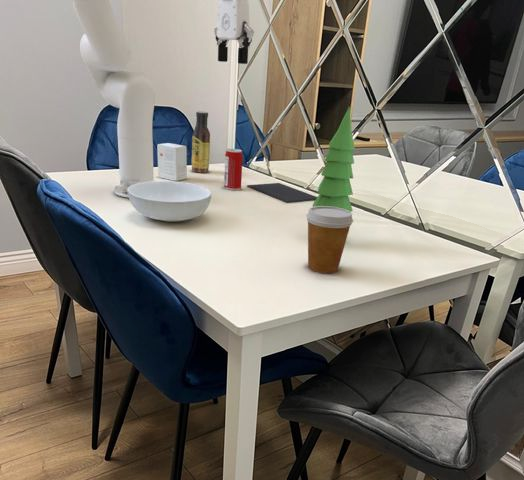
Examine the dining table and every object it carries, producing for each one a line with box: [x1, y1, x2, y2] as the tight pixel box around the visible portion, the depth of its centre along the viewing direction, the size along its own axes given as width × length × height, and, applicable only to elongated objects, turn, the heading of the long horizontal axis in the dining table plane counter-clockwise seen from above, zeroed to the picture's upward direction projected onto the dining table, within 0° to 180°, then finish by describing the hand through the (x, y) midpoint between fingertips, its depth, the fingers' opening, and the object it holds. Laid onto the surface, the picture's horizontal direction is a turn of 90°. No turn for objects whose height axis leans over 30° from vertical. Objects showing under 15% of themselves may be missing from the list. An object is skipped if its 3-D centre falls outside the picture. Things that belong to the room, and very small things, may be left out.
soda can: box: [223, 148, 244, 191], centre depth 169 cm, size 6×6×12 cm
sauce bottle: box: [191, 110, 211, 174], centre depth 187 cm, size 7×6×20 cm
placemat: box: [247, 182, 318, 204], centre depth 172 cm, size 22×13×1 cm, turn 34°
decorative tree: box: [312, 105, 356, 213], centre depth 123 cm, size 10×9×30 cm
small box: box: [156, 142, 188, 182], centre depth 176 cm, size 8×6×10 cm
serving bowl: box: [128, 180, 212, 223], centre depth 136 cm, size 21×21×7 cm
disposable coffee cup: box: [305, 206, 354, 274], centre depth 110 cm, size 10×10×12 cm
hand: (232, 62), depth 159 cm, fingers open, 9 cm apart
